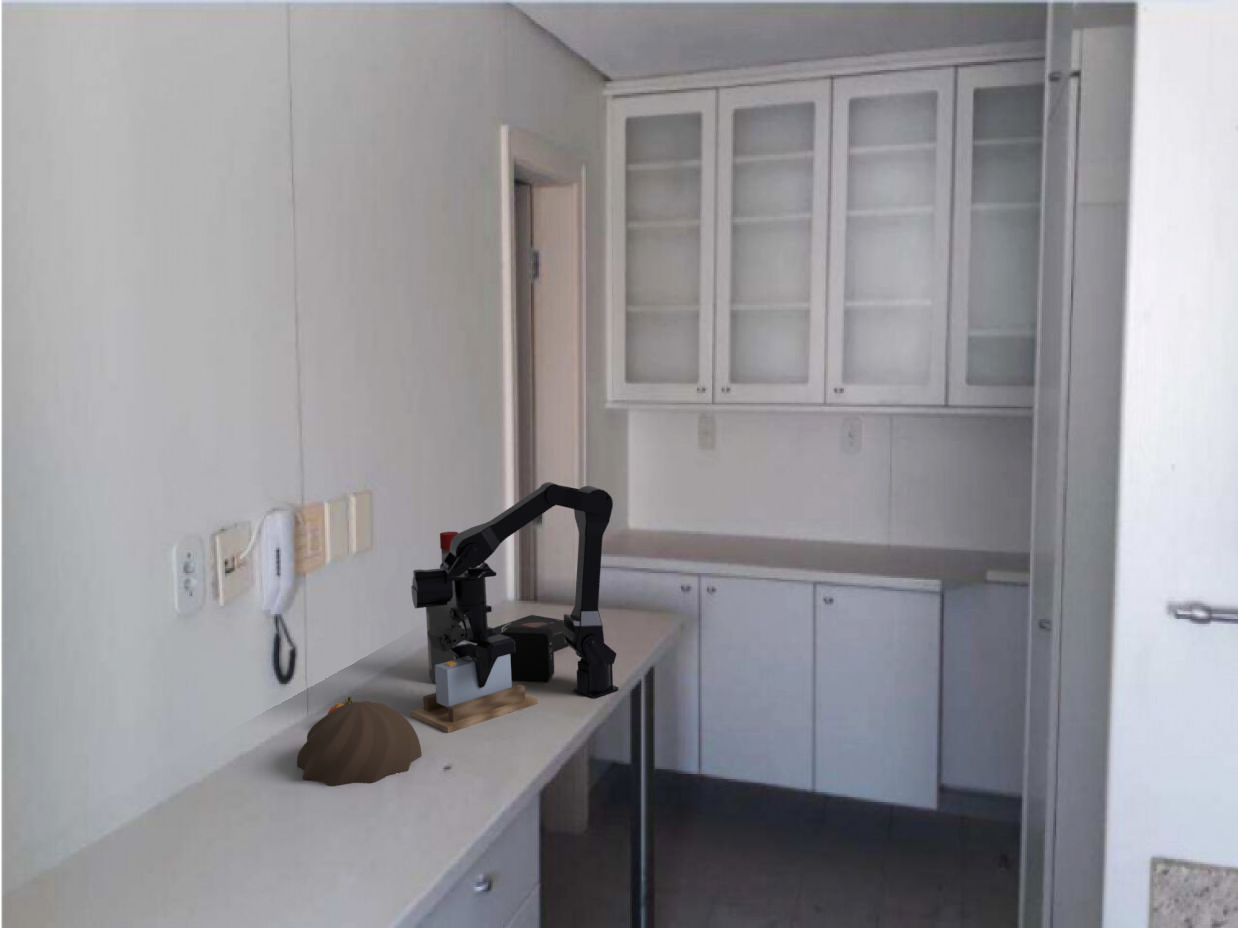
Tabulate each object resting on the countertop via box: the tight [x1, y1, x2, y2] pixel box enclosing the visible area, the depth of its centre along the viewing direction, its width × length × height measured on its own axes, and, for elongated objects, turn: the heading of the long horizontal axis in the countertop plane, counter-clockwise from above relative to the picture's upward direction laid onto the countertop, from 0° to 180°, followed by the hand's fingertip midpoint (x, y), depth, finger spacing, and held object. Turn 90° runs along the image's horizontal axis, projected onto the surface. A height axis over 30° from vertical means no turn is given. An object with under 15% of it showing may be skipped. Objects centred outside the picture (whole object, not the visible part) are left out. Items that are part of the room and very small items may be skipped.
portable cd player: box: [487, 614, 570, 653], centre depth 228 cm, size 16×17×4 cm
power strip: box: [435, 654, 513, 707], centre depth 184 cm, size 14×4×7 cm, turn 133°
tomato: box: [326, 696, 355, 715], centre depth 178 cm, size 8×7×7 cm
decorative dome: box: [296, 700, 422, 787], centre depth 163 cm, size 19×20×10 cm
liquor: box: [425, 531, 459, 685], centre depth 202 cm, size 9×9×30 cm
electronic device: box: [501, 627, 555, 683], centre depth 202 cm, size 4×10×10 cm, turn 78°
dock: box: [410, 684, 539, 734], centre depth 185 cm, size 20×12×4 cm, turn 134°
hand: (474, 684), depth 185 cm, fingers closed on power strip, 4 cm apart
